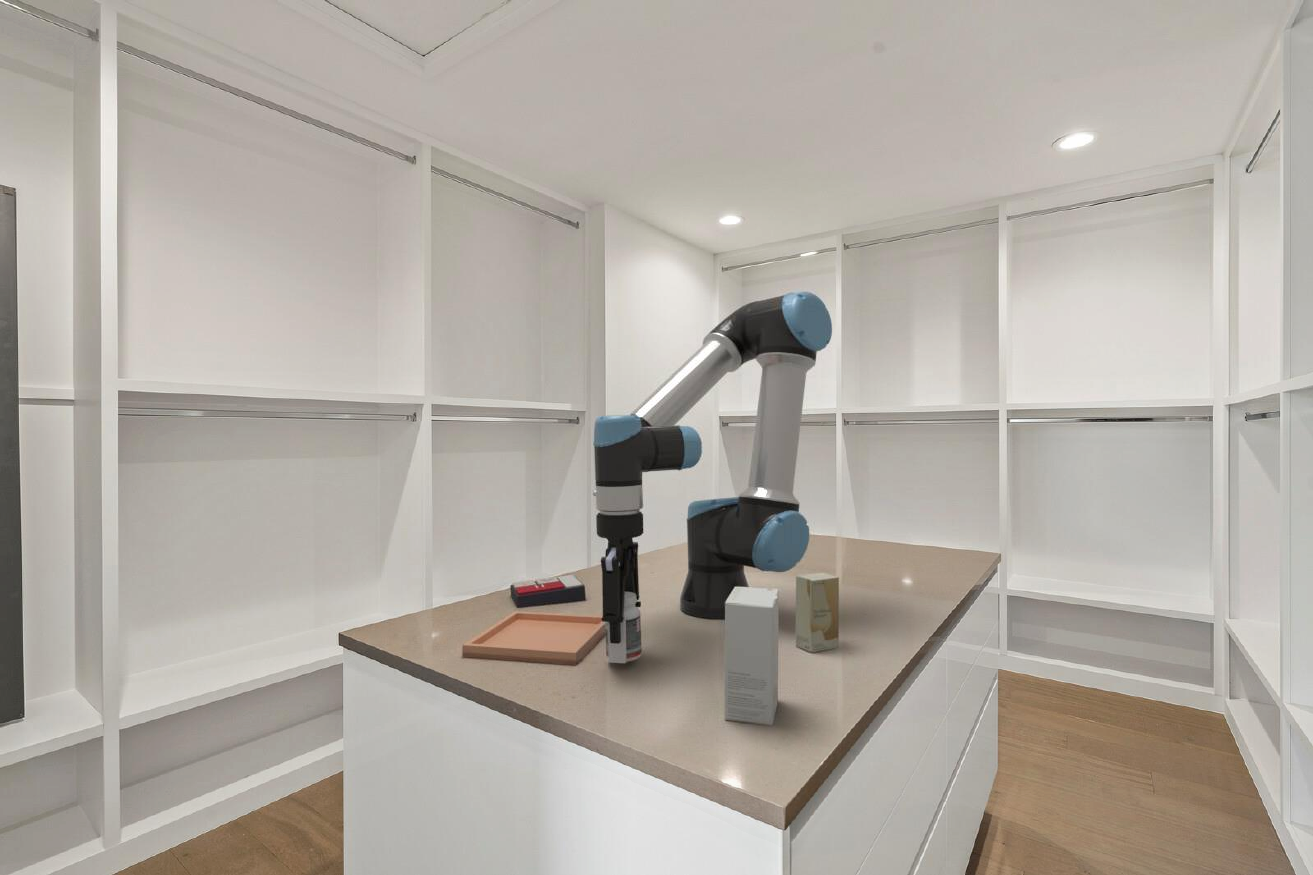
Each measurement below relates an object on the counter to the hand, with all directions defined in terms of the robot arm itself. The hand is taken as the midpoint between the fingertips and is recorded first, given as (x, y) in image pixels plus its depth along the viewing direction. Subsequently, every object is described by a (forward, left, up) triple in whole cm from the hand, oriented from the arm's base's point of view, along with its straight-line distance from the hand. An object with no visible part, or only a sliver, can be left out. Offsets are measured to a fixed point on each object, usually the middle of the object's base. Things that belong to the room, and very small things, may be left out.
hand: (623, 654), depth 102 cm
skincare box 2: (-31, -14, -2) cm, 34 cm away
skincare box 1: (-22, +13, -2) cm, 26 cm away
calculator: (+28, -35, -2) cm, 45 cm away
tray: (+17, -8, -1) cm, 19 cm away
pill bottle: (0, 0, -1) cm, 1 cm away
